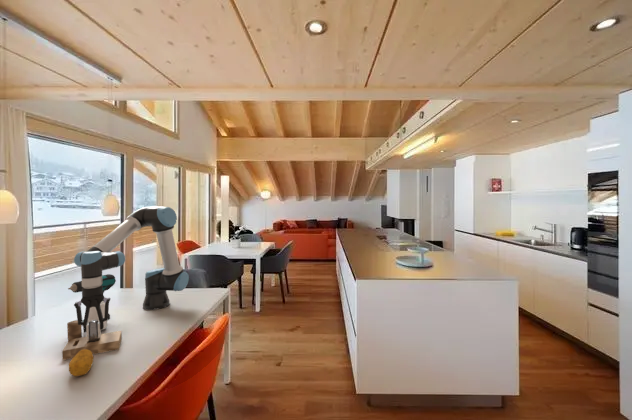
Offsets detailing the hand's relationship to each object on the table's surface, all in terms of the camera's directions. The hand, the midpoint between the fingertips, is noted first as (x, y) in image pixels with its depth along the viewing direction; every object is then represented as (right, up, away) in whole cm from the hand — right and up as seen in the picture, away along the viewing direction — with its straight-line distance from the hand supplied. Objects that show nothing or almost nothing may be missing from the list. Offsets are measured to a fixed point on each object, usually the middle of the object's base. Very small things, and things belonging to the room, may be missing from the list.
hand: (94, 337), depth 138 cm
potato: (+9, -6, -19) cm, 22 cm away
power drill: (-23, -5, +31) cm, 39 cm away
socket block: (0, -5, 0) cm, 5 cm away
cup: (-12, -5, +20) cm, 24 cm away
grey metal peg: (0, -5, 0) cm, 5 cm away
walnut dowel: (-13, -5, +6) cm, 15 cm away
